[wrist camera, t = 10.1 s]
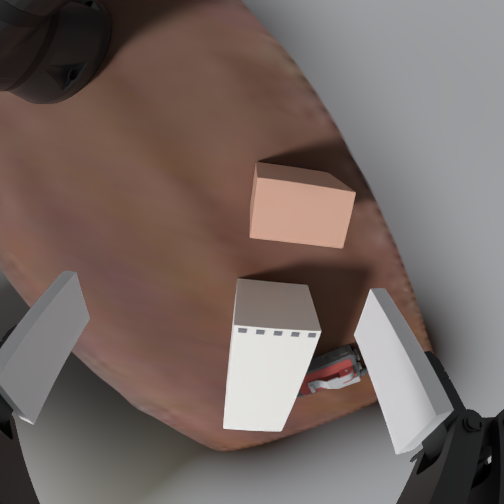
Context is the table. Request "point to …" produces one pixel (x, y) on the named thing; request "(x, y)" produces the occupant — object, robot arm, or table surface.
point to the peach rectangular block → (299, 206)
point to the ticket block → (268, 353)
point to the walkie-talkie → (332, 371)
